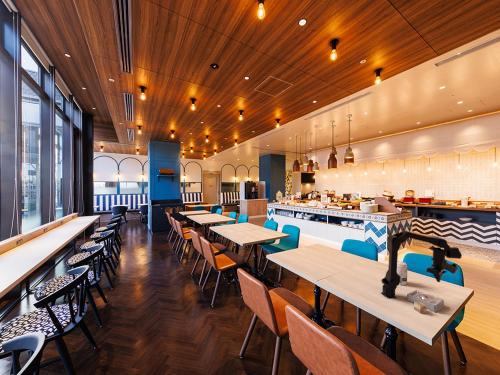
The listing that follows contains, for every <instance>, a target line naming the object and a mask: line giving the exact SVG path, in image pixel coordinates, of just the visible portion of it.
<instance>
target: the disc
mask: <svg viewBox="0 0 500 375" xmlns="http://www.w3.org/2000/svg"><path fill="white" fill-rule="evenodd" d="M419 299H422V300H424V301H427V302H429V303H433V302H434V299H433V297H431V296H429V295H426V294H419Z"/></svg>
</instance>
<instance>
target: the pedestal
mask: <svg viewBox="0 0 500 375" xmlns="http://www.w3.org/2000/svg"><path fill="white" fill-rule="evenodd" d="M413 310H414V311H416V312H418V313H419V314H427V312H428V309H427V306H426V305H424V304H423V303H421V302H414V303H413Z"/></svg>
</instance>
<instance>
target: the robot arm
mask: <svg viewBox="0 0 500 375" xmlns="http://www.w3.org/2000/svg"><path fill="white" fill-rule="evenodd" d="M408 239H413V240H416V241H421V242H425V243H427V244H431V246H430V247H428V249H429V250H430V251H432V257H431V261H432V264H431V266H429V267H426V270H425V271H426V272H427V273H429V274H432V275H433V277H434V279H435V281H436V283H441V280H442V277H443V275H444V274H446V273H447V272H449V273H451V274H452V275H454V274H456V273H457V272H458V271H459V267H458V264H457V263H449V262H448V260H447V259H446V258H448V259H455V260H458V259H459V260H460V259H462V256H463V255H462V253H461V250H460V248H459V247H455V246H453V247H451V246H450V245H449V244H448V241H447V240H446V239H444V238H441V237H439V236H435V235H434V236H433V235H424V234H419V233H416V232H412V231H408V230H402V231H399V232H397V233H393V234H390V235H388V236H387V237H386V243H387V246H388V248H389V250H388V252H389V254H388V269H387V270H386V272H385V276H384V278H382V279H380V280H381V283H382V284H383V285H382V292H380V295H382V296H384V297H385V298H386V299H397V296H396V289H397V287H398V286H399V282H400V278H401V276H400V275H398V274H397V261H398V260H399V259H398V257H399V254H398V253H399V250H400V249H401V245H402V244H403V243H406V241H407V240H408ZM400 283H401V282H400Z"/></svg>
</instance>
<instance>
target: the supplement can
mask: <svg viewBox="0 0 500 375" xmlns="http://www.w3.org/2000/svg"><path fill="white" fill-rule="evenodd" d="M397 274H398V275H400V276H401V278H400V282H401V283H400V282H399V284H400V286H406V285H407V284H408V265H407V263H406V262H403V261H400V260H397Z"/></svg>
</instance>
